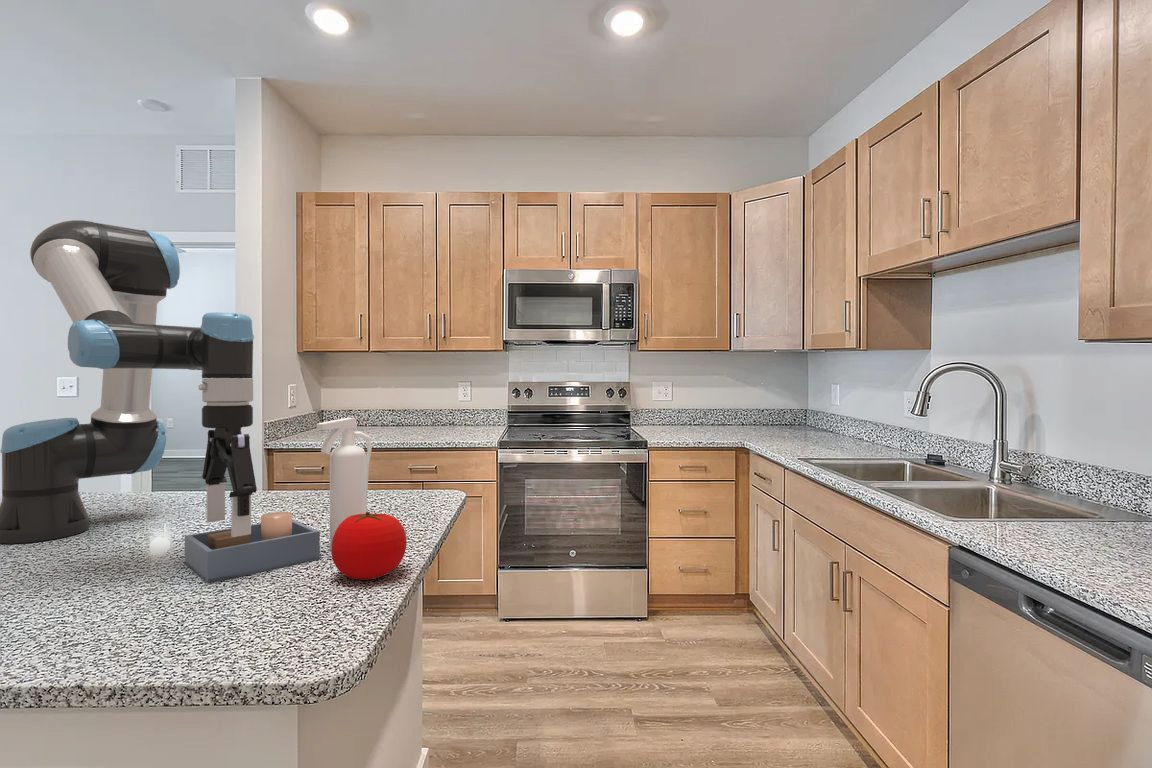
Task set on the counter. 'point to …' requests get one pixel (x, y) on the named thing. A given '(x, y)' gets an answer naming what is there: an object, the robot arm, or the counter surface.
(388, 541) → the tomato
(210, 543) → the walnut cube
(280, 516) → the peach rounded cylinder
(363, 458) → the white spray bottle
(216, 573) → the tote
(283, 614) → the counter surface
